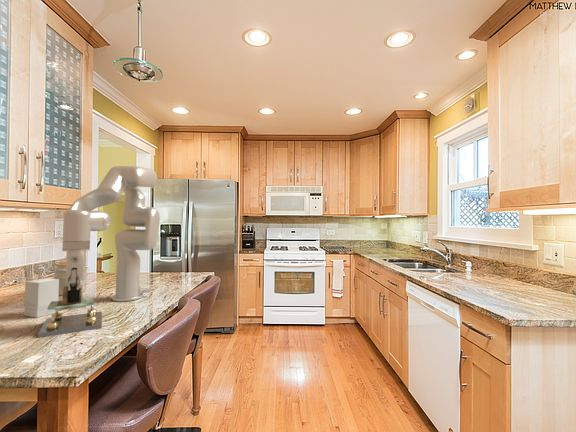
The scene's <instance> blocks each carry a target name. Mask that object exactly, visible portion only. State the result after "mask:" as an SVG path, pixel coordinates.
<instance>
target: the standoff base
mask: <svg viewBox="0 0 576 432" xmlns="http://www.w3.org/2000/svg"><path fill="white" fill-rule="evenodd" d="M94 306H95V305H90V309H87V311H86V313H79V314H72V315H70V314H69V315H63V313H62V312H59V310H57V311H55V313H53V314H51V316H50V317H47V318H46V319H45V321H44V322H43V324H42V325H41V328H40V329H39V331H38V333H37V338H45V337H50V336H52V337H53V336H58V335H64V334H69V333H77V332H84V331H91V330H96V329H102V327H103V326H102V324H103V323H102V321H103V319H102V318H103V314H102V313H103V312H102V311H97V310H98V309H97V308H94Z"/></svg>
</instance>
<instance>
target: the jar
mask: <svg viewBox="0 0 576 432" xmlns="http://www.w3.org/2000/svg"><path fill="white" fill-rule="evenodd" d="M87 269H88V267H87V266H86V270H87ZM53 271H54V275H53V279H59V295H58V296H63V288H64V287H65V286H69V281H67V280H66V260H61V261H59V262H58V263H56V267H55V268H54V269H53ZM87 275H88V274H87V273H86V274H85V279H84V280H82V279H80V285H82V294H83V293H85V292H86V290H87Z"/></svg>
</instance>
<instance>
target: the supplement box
mask: <svg viewBox="0 0 576 432" xmlns="http://www.w3.org/2000/svg"><path fill="white" fill-rule="evenodd" d="M24 285H25V288H24V289H25V290H24V307H23V308H24V312H23V313H24V314H23V316H24V317H31V318H41V317H44V316H49V315H52V314H55V309H53V310H47V309H48V306H49V304H50V303H51V302H53V301H59V296H60V295H59V279H54V278H47V277H46V278H38V279H34V280H28V281H25V284H24Z"/></svg>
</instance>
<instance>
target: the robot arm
mask: <svg viewBox="0 0 576 432" xmlns="http://www.w3.org/2000/svg"><path fill="white" fill-rule="evenodd" d="M157 181H158V175H157V173H156V171H155V170H154V169H152V168H147V167H141V166H135V165H116V166H113V167H111V168H110V169H109V170H108V171H107V173H106V175H105V176H104V178H103V179H102V181H101V182H100V184H99V185H98V187H97V188H95V189H93V190H91V191H89V192H86V193H85V194H84V195H82V196H80V197H79V198H77V199H76V200H75V201H74V202H73V203H72V204H71V206H70V207H69V209H68V210H66V211H65V212H64V213H63V225H62V226H63V228H62V246H61V248H62V249H61V250H62V251H61V252H66V257H65V258H66V260H65V261H66V280H67V281H69V289H68V295H67V303H73V302H79V298H80V289H79V285H80V279H82V280H84V279H85V274H87V272H86V270H87V269H86V267H87V252H86V251H90V250H91V249H90V248H91V247H90V245H91V244H90V243H91V232H103V231H106V230H107V229H108V228H110V226H111V224H112V219H111V216H110V215H109V214H108V213H107V212H105V211H102V210H95V209H97V208H98V209H99V208H101V207H104V206H108V205H111V204H114V203H116V202H118V201H119V200H120V199H121V197H122V195H123V194H124V203H123V212H122V224H123V225H124V226H126V227H130V228H127V229H121V230H118V232H117V233H116V234H115V237H114V244H115V249H116V273H115V275H116V276H115V281H116V282H115V294H114V295H112V296H111V300H112V301H114V302H130V301H136V300H140V299H142V298H143V297H144V293H145V294H149V293H151V288H149V287H148V288H147V287H144V288H142V287H141V285H140V281H141V280H140V278H141V277H140V276H141V257H140V255H139V253H138V252H137V251H152V250H153V249H155V248H156V247H157V243H158V236H159V229H160V219H161V218H160V217H161V216H160V212H159V211H158V209H157V208H155V207H152V206H145V203H146V196H145V194H144V193H143V191H142V189H140V188H152V187H154V186H156V185H157ZM135 228H136V229H135ZM137 228H144V229H137Z"/></svg>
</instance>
